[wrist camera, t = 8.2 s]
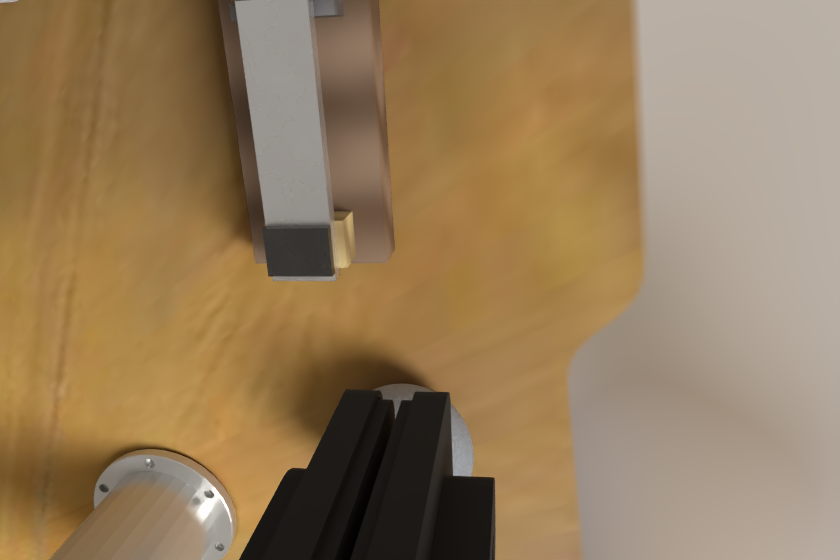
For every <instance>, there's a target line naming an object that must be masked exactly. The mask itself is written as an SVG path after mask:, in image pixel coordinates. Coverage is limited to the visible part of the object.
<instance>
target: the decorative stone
mask: <svg viewBox="0 0 840 560" xmlns="http://www.w3.org/2000/svg"><path fill="white" fill-rule="evenodd" d="M373 390H380V391H381V393H382V396H383V399H388V400H393V402H394V408H395V419H396V416H397V412H398V409H399V406H400V403H401V401H402V400H412V399H413V396H414V393H415V392H416V391H420V392H435V391H433V390H430V389H428V388H425V387H422V386H418V385H414V384H390V385H385V386H382V387H378V388H376V389H373ZM451 429H452V456H453V476H471V475H472V470H473V446H472V441H471V437H470V434H469V431H468V428H467V426H466V424H465V422H464V420H463V419H462V417H461V415H460V414H459V413H458V411H457V410H456V409H455V408H454V406H453V405H452V404H451Z"/></svg>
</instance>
